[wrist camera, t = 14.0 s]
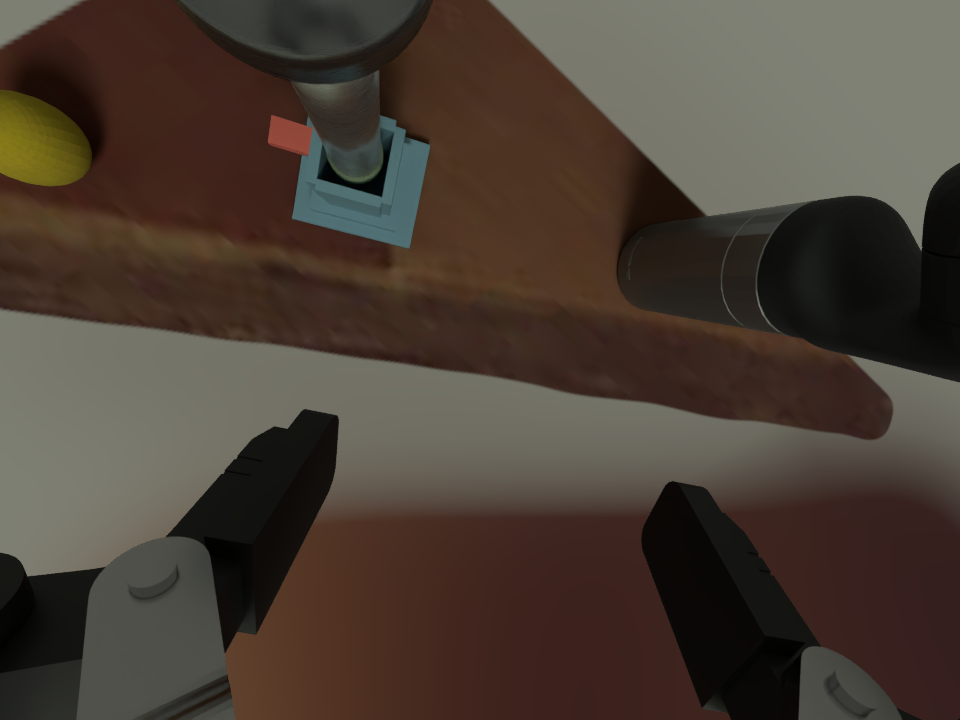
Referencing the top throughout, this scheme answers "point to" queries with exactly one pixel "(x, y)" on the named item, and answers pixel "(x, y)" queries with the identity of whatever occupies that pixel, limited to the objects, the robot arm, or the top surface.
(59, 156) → the lemon
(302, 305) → the top surface
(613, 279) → the top surface
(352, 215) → the stand base
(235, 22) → the column
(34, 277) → the top surface
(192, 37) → the top surface
